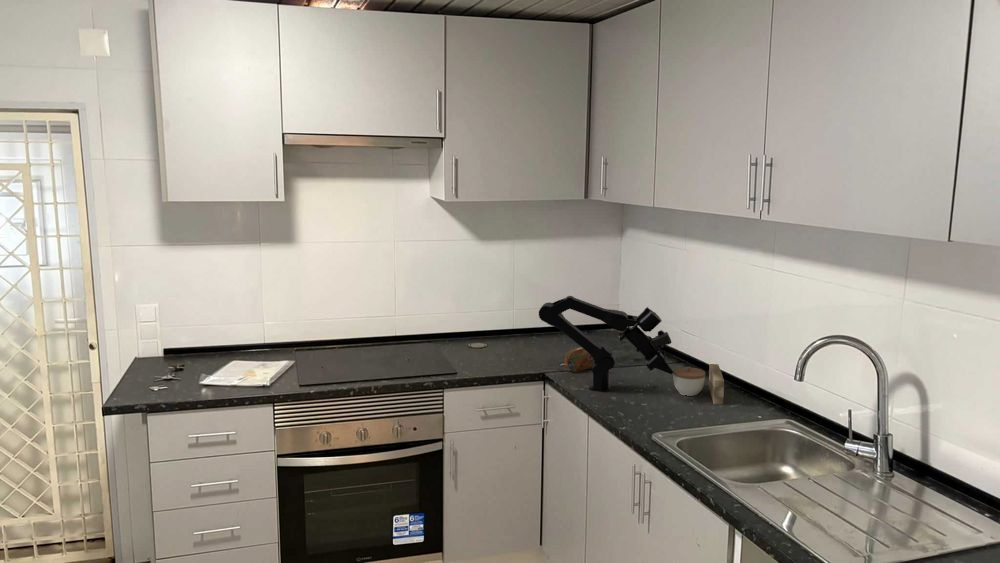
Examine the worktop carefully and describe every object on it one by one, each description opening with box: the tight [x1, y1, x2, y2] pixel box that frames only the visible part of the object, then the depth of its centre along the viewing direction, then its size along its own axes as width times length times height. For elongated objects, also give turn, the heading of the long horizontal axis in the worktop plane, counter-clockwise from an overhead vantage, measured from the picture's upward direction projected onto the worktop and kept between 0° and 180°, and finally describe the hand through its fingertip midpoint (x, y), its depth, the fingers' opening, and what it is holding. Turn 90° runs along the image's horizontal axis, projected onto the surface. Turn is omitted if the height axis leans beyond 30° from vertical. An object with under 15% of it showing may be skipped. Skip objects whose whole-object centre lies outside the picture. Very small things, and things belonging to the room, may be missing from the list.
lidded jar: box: [672, 366, 706, 397], centre depth 255 cm, size 11×11×9 cm
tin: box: [563, 346, 595, 373], centre depth 284 cm, size 15×3×8 cm, turn 129°
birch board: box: [708, 363, 725, 405], centre depth 253 cm, size 3×20×8 cm, turn 169°
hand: (672, 373), depth 255 cm, fingers closed, pressing on lidded jar
